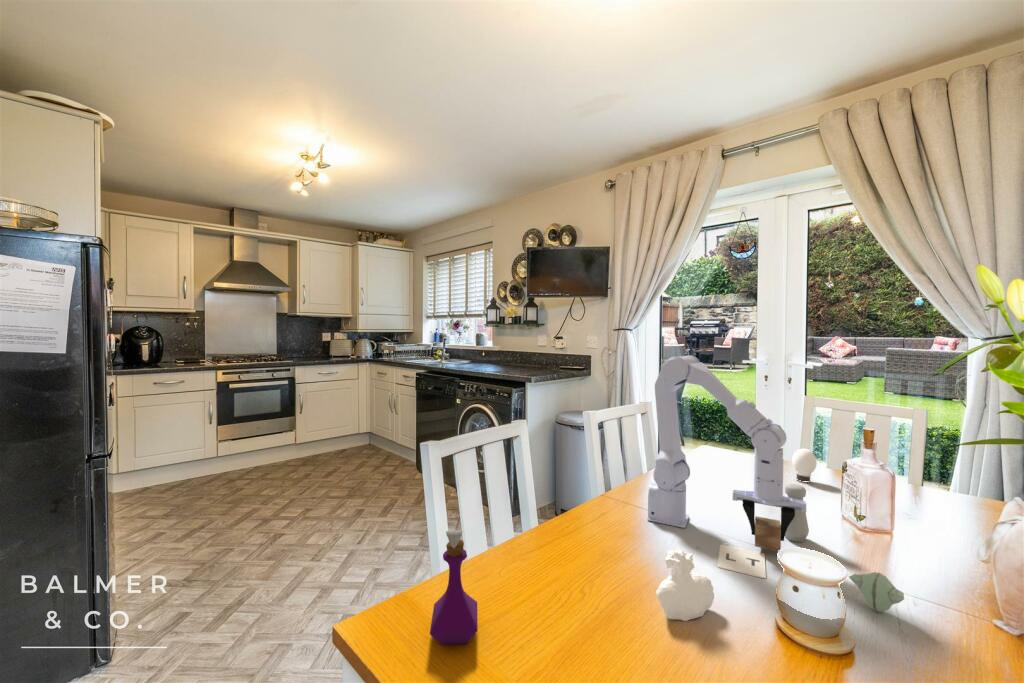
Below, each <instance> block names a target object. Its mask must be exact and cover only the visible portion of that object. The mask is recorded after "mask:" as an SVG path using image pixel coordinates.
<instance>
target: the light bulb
mask: <svg viewBox="0 0 1024 683" xmlns="http://www.w3.org/2000/svg"><path fill="white" fill-rule="evenodd" d="M791 459H792V466H793V467H794V469H795V471H797V472H796V479H798V480H801V481H810V482H811V476H812V473H813V472H814V471H815V470H816V469H817V468H816V467H817V458H816V456H815V454H814V453H813V451H812V450H810V449H808V448H799V449H797V450H796V451H794V453H793V455H792V458H791ZM798 480H797V481H798Z"/></svg>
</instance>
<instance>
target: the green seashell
mask: <svg viewBox="0 0 1024 683" xmlns="http://www.w3.org/2000/svg"><path fill="white" fill-rule="evenodd" d="M848 578H849V580H851V581H852V582H853V583H854V585H856V587H857V588H858V589H859V591H860V592H861V594H862V596H863V597H864V600H865V602H866V603H867V605H868V606H869V607H870V608H871V609H872V610H873V611H875V612H879V613H882V612H883V613H884V612H887V611H889V609H891V608H892V606H893V605H895V604H896V605H897V604H900V603H901V602H903V601H904V600H905V594H904V592H903V591H901V590H899V589H898V588H896V587H895V585H894V584H893V583H892V582H891V580H890V579H889V578H888V577H887V576H886V575H884V574H883V573H880V572H876V571H874V572H869V573H863V574H858V573H853V574H851V575H849V576H848Z"/></svg>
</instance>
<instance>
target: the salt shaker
mask: <svg viewBox="0 0 1024 683" xmlns="http://www.w3.org/2000/svg"><path fill="white" fill-rule="evenodd" d="M784 493H785V494H786V495H787V496H786V497H789V498H792V499H796V500H801V501H804V498H806V495H807V489H806V488H805V487H804V486H802V485H799V484H797V483H796V484H795V483H788V484H786V485H785V487H784ZM809 532H810V528H809V524H808V518H807V512H806V513H804V512H800V511H799V510H795V517H794V519H793V520H792V521H791V523H790V524H789V526H788V528H787V531H786V533H785V537H784V538H785V539H787V540H789V541H792V542H797V543H803V542H804V541H805V540H806V538H807V537H808V535H809Z"/></svg>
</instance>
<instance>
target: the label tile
mask: <svg viewBox="0 0 1024 683" xmlns="http://www.w3.org/2000/svg"><path fill="white" fill-rule="evenodd" d="M717 559H718V560H717V565H716V566H717V568H719V569H723V570H728V571H731V572H736V573H739V574H740V573H741V574H744V575H748V576H753V577H756V578H761V579H764V578H765V580H766V579H767V576H766V575H767V574H766V572H767V571H766V554H765V553H764V552H759V551H754V550H749V549H744V548H741V547H737V546H736V547H735V546H730V545H727V544H722V543H721V544H720V546H719V552H718V558H717Z"/></svg>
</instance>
